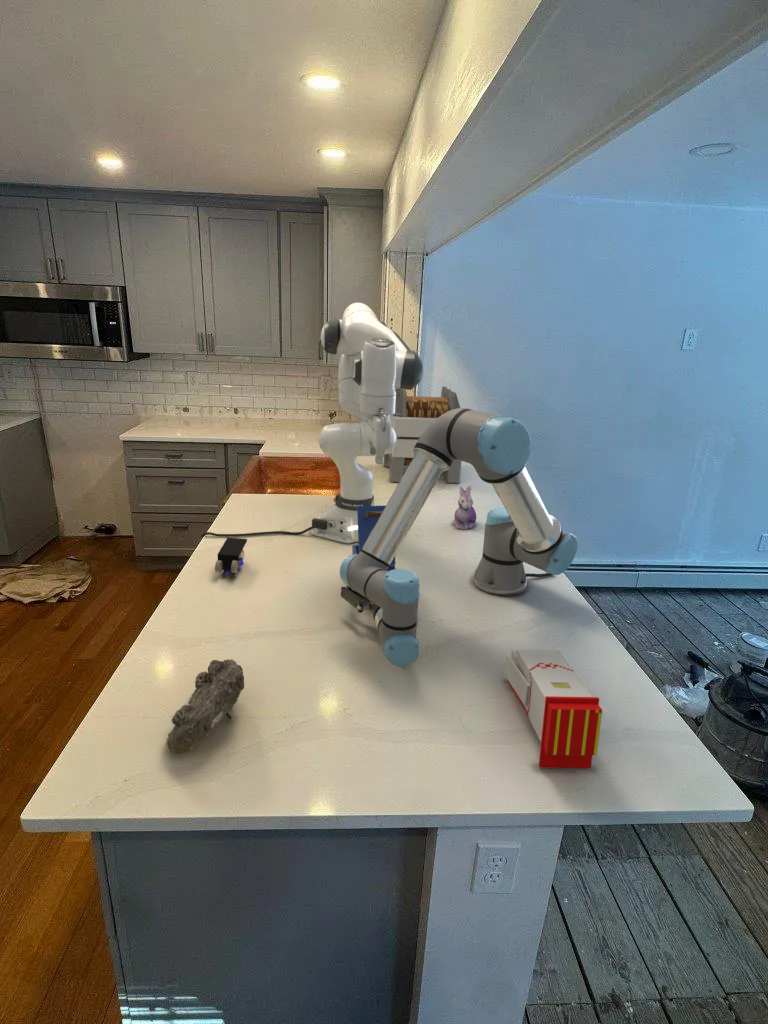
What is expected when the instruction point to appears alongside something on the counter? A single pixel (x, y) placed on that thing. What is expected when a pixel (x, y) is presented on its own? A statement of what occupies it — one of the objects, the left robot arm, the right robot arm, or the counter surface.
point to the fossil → (206, 705)
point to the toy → (556, 707)
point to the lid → (368, 523)
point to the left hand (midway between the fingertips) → (375, 458)
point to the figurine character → (230, 556)
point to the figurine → (465, 510)
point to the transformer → (417, 429)
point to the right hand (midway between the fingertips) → (375, 576)
